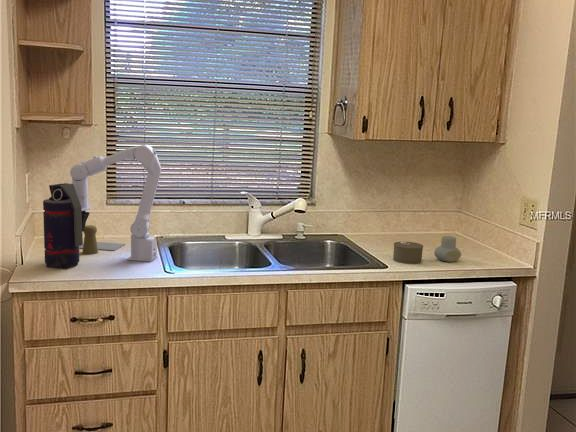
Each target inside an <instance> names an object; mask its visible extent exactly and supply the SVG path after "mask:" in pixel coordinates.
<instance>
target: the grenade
mask: <svg viewBox="0 0 576 432" xmlns="http://www.w3.org/2000/svg"><path fill="white" fill-rule="evenodd" d="M48 187H49V192H50V197H49V198H47V199H44V200H42V208H43V211H42V212H43V244H44V246H43V247H44V249H45V250H44V264H45V266H46V268H49V267H58V268H59V269H60V270H67V269H68V267H70V266H74V265H76V266H77V265H78V264H79V263H80V249H79V246H81V245H83V244H84V237H83V232H82V208H81V204H80V202H79V199H78V197H77V194H76V190H75V187H74V184H72V183H69V182H64V183H57V184H49V185H48Z"/></svg>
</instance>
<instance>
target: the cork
mask: <svg viewBox="0 0 576 432" xmlns="http://www.w3.org/2000/svg"><path fill="white" fill-rule="evenodd" d="M97 230H98V228H97V226H95V225H93V224H89V225H87V224H86V225H85V229H84V231H83V232H82V233H83V234H84V237H83V249H82V254H83V255H96V254H99V250H98V248H97V242H98V241H97V236H96V235H97V234H96V233H97Z"/></svg>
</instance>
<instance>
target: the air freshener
mask: <svg viewBox="0 0 576 432" xmlns="http://www.w3.org/2000/svg"><path fill="white" fill-rule="evenodd" d="M440 242H441V243H440V246H437V247H436V248H435V249H434V252H433V254H434V256H435V258H436V259H438V260H440V261H441V262H445V263H454V262H456V261H458V260H459V259H460V258H461V257H462V252H461V250H460V249H458V247H456V246H457V237H455V236H450V235H443V236H442V237H441V241H440Z"/></svg>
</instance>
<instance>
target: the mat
mask: <svg viewBox="0 0 576 432" xmlns="http://www.w3.org/2000/svg"><path fill="white" fill-rule="evenodd" d="M125 245H126V243H122V242H121V243H119V242H103V241H97V248H98V251H107V252H115V251H117V250H119V249H121V248H122V247H124V246H125ZM79 250H83V245H81V246H79Z"/></svg>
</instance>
